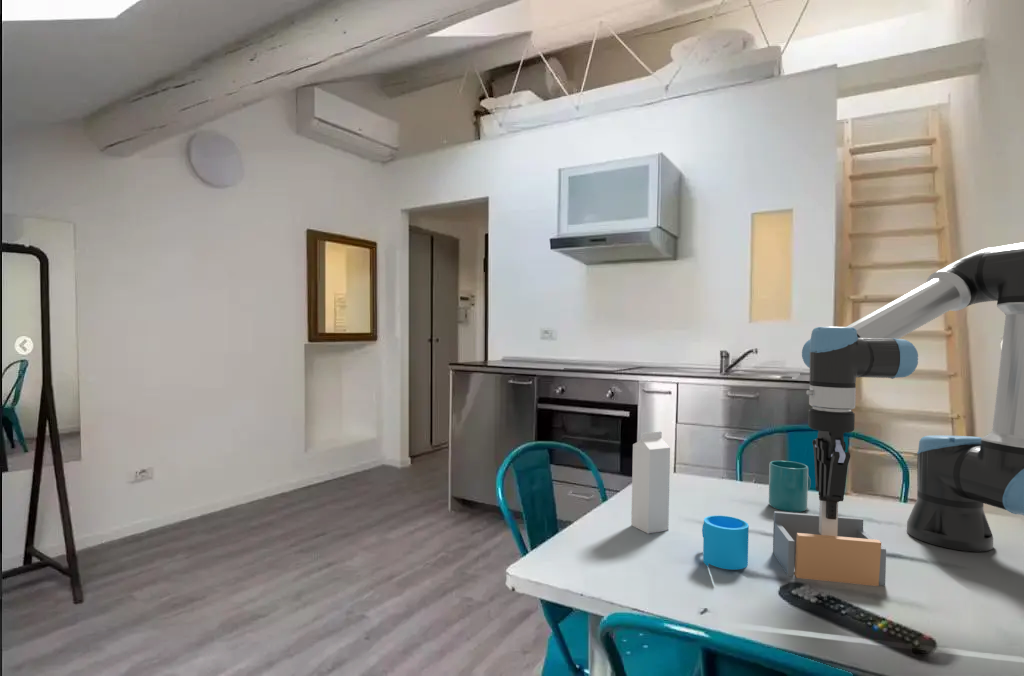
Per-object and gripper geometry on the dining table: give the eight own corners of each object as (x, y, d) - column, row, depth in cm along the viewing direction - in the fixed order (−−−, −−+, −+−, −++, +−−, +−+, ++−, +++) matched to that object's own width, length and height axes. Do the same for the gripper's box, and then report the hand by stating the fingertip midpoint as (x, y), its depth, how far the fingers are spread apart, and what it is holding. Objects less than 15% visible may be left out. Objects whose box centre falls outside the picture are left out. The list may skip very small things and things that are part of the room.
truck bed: (860, 563, 109) (861, 518, 109) (885, 588, 99) (886, 538, 99) (772, 555, 113) (773, 511, 113) (787, 578, 102) (788, 529, 102)
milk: (631, 525, 129) (632, 430, 129) (651, 522, 132) (652, 429, 131) (648, 534, 123) (649, 435, 123) (669, 530, 126) (670, 433, 126)
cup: (823, 509, 143) (825, 466, 143) (788, 514, 139) (789, 469, 139) (794, 499, 152) (795, 458, 151) (760, 503, 147) (761, 461, 147)
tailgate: (875, 582, 99) (878, 539, 99) (878, 586, 98) (881, 542, 98) (794, 574, 102) (796, 532, 101) (796, 577, 101) (798, 535, 100)
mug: (756, 571, 105) (757, 528, 105) (717, 574, 103) (718, 530, 103) (721, 547, 117) (722, 508, 117) (685, 549, 115) (686, 510, 115)
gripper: (799, 403, 111) (796, 520, 111) (820, 412, 98) (817, 544, 99) (840, 405, 110) (837, 524, 110) (867, 414, 97) (864, 549, 97)
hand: (828, 534), depth 104 cm, fingers closed
